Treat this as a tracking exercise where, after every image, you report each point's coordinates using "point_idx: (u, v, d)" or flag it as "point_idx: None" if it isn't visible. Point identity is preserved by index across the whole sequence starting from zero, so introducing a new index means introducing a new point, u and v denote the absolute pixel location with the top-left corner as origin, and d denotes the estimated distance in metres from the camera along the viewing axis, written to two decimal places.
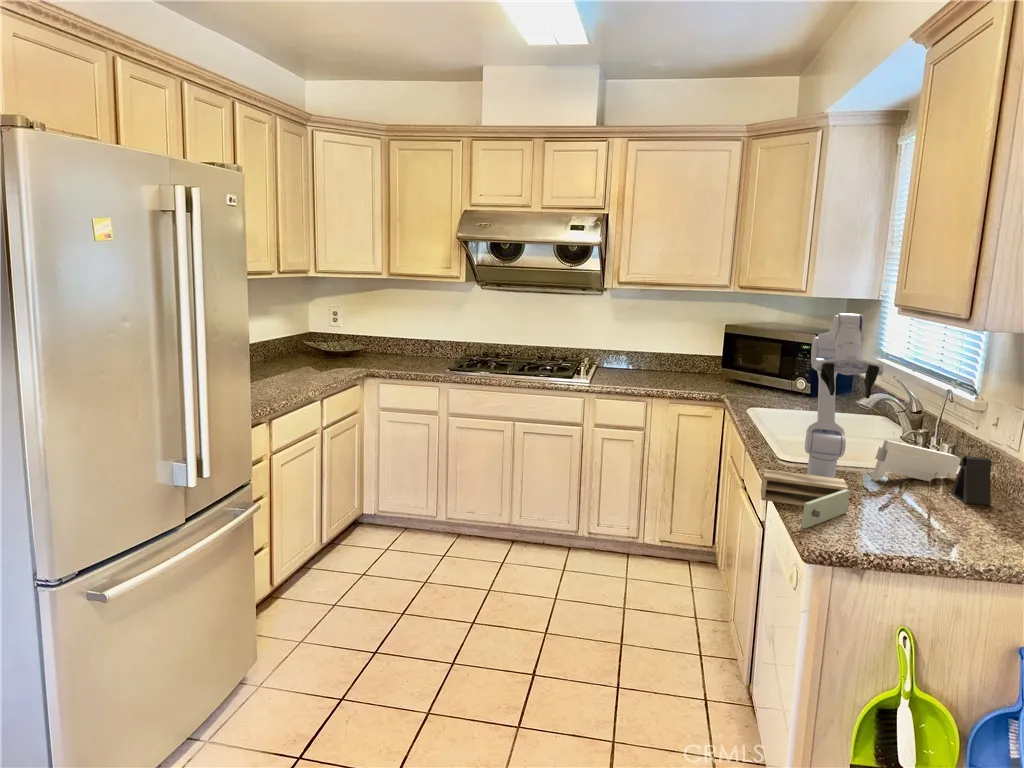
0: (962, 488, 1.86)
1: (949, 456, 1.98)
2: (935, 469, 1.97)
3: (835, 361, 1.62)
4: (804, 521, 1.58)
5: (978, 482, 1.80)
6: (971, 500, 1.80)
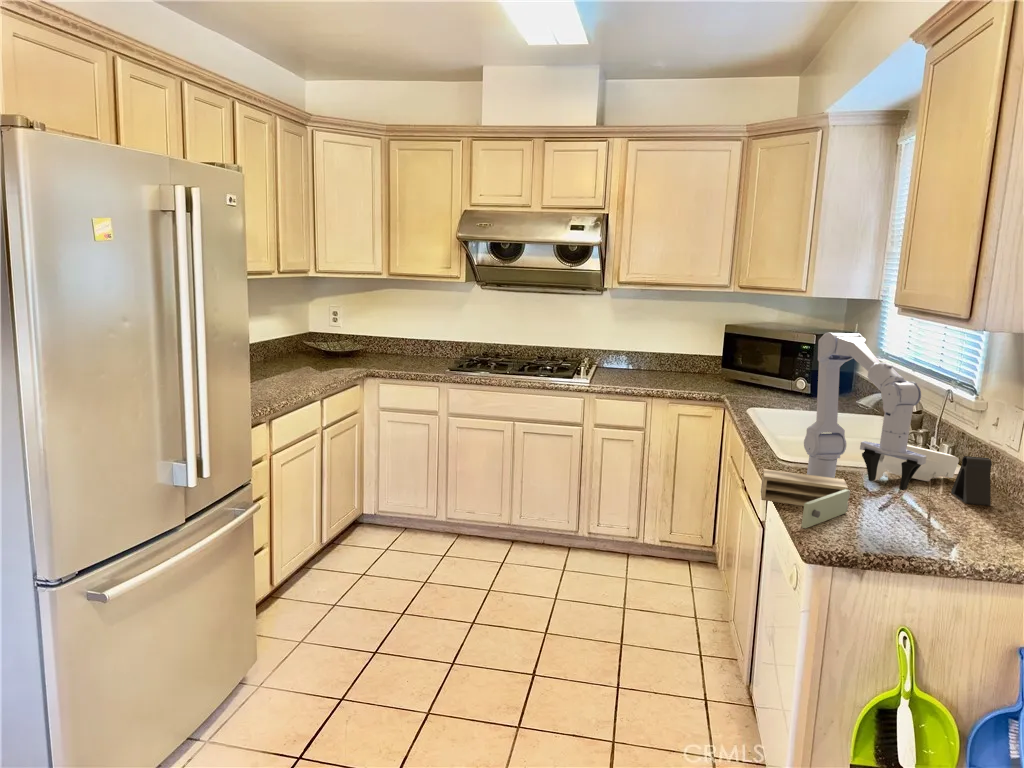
0: (962, 488, 1.86)
1: (947, 456, 1.98)
2: (933, 469, 1.97)
3: (874, 449, 1.63)
4: (804, 521, 1.58)
5: (978, 482, 1.80)
6: (971, 500, 1.80)
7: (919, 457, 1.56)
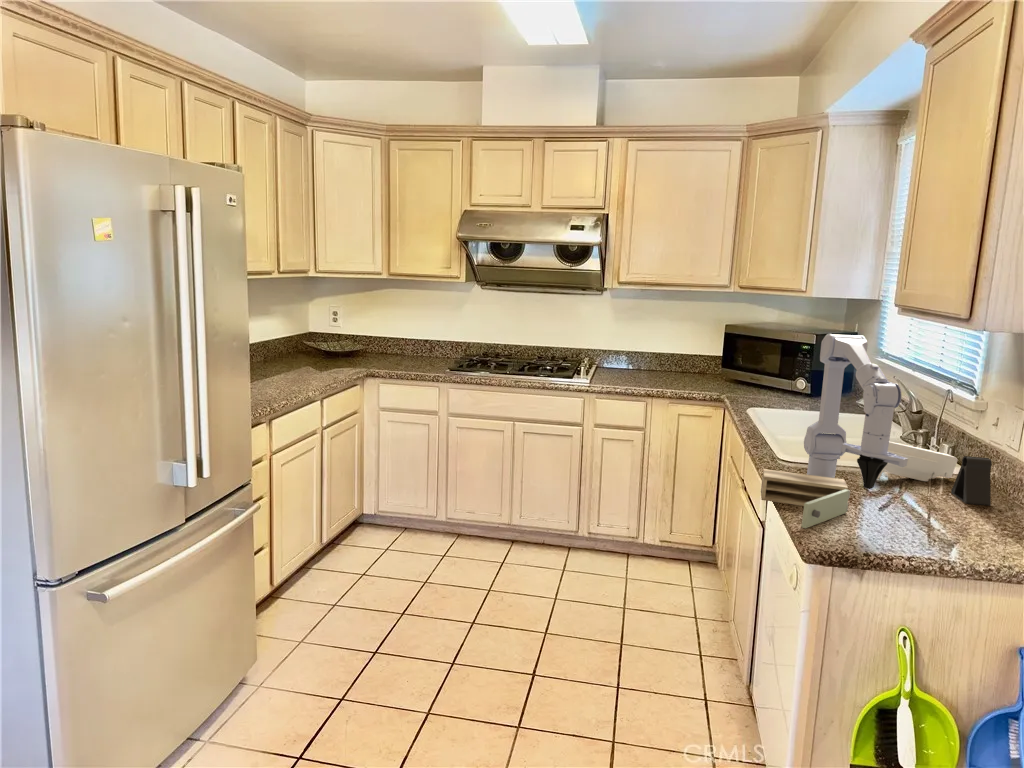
0: (962, 488, 1.86)
1: (946, 456, 1.98)
2: (932, 469, 1.96)
3: (855, 451, 1.60)
4: (804, 521, 1.58)
5: (978, 482, 1.80)
6: (971, 500, 1.80)
7: (900, 459, 1.53)
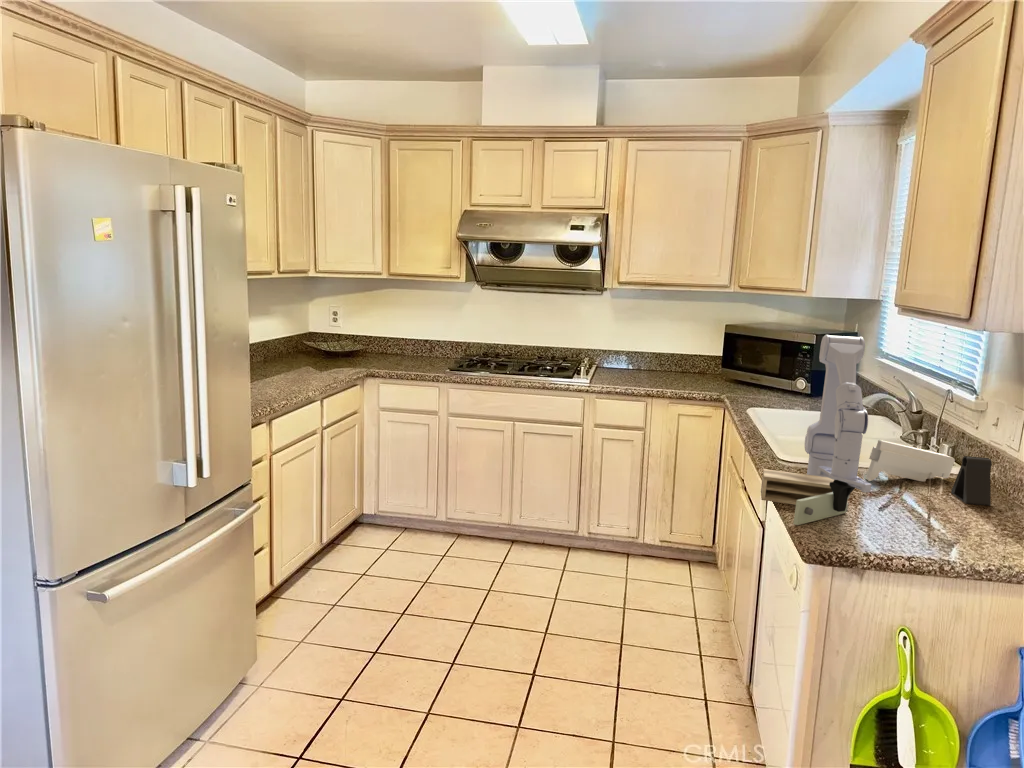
0: (962, 488, 1.86)
1: (943, 456, 1.97)
2: (929, 469, 1.96)
3: None
4: (796, 518, 1.59)
5: (978, 482, 1.80)
6: (971, 500, 1.80)
7: (862, 485, 1.57)
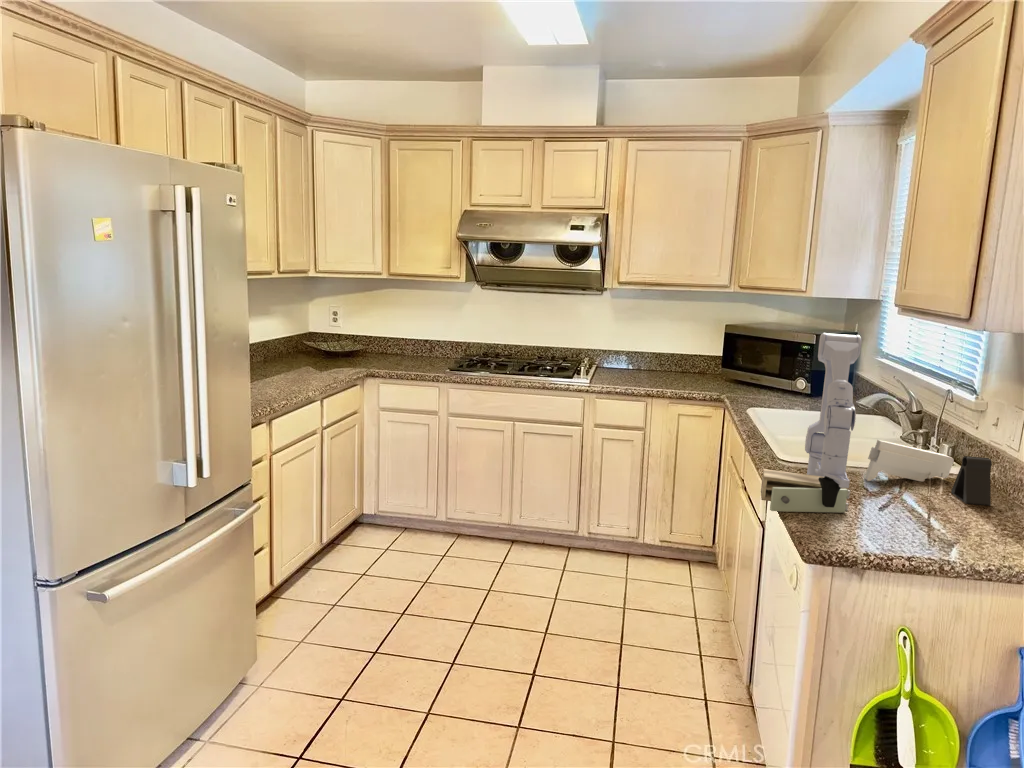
0: (962, 488, 1.86)
1: (942, 456, 1.97)
2: (928, 469, 1.96)
3: None
4: (771, 504, 1.68)
5: (978, 482, 1.80)
6: (971, 500, 1.80)
7: (839, 480, 1.59)
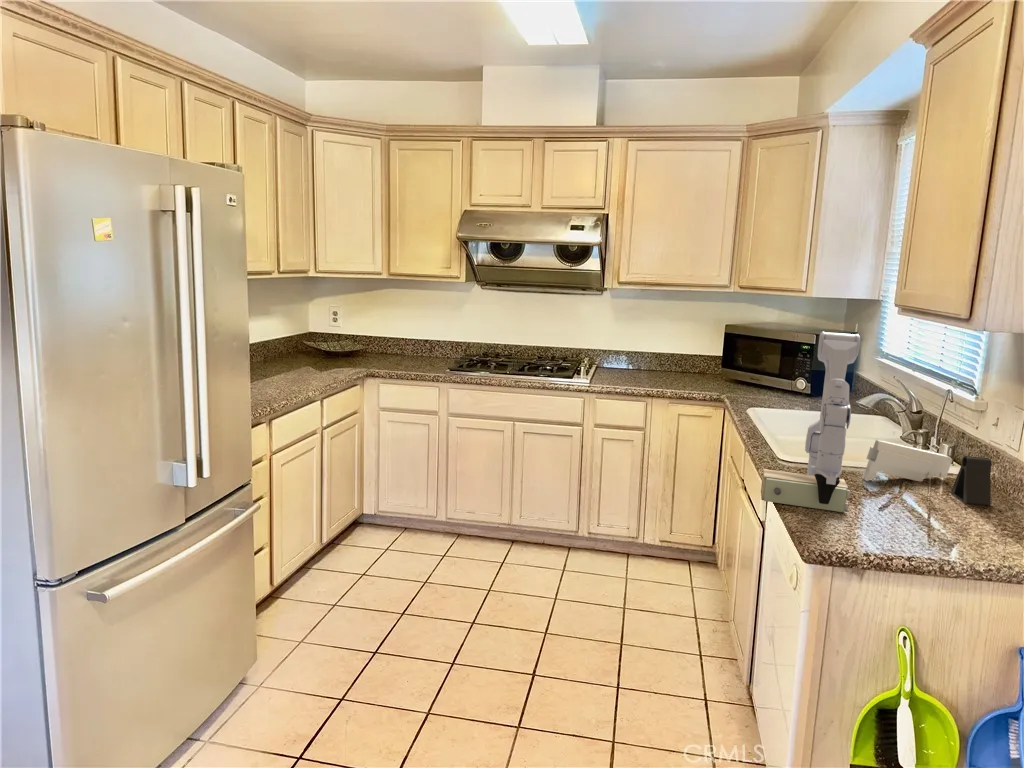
0: (962, 488, 1.86)
1: (940, 456, 1.97)
2: (926, 469, 1.96)
3: None
4: None
5: (978, 482, 1.80)
6: (971, 500, 1.80)
7: (826, 476, 1.62)
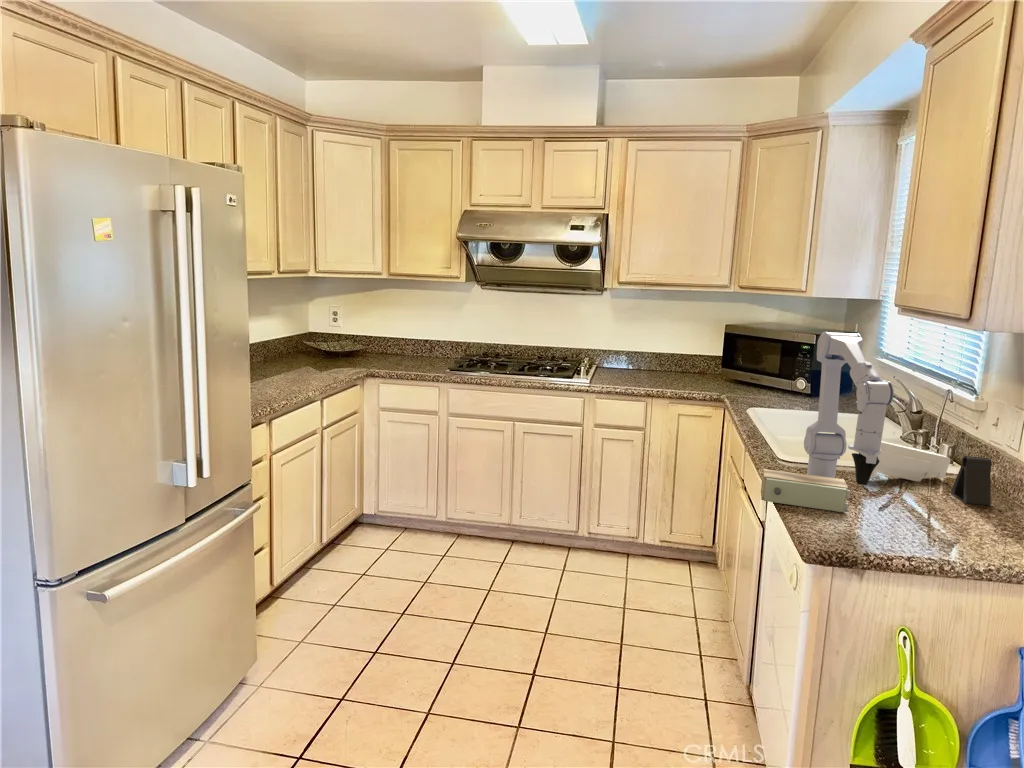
0: (962, 488, 1.86)
1: (939, 456, 1.97)
2: (925, 469, 1.96)
3: None
4: None
5: (978, 482, 1.80)
6: (971, 500, 1.80)
7: (866, 455, 1.56)
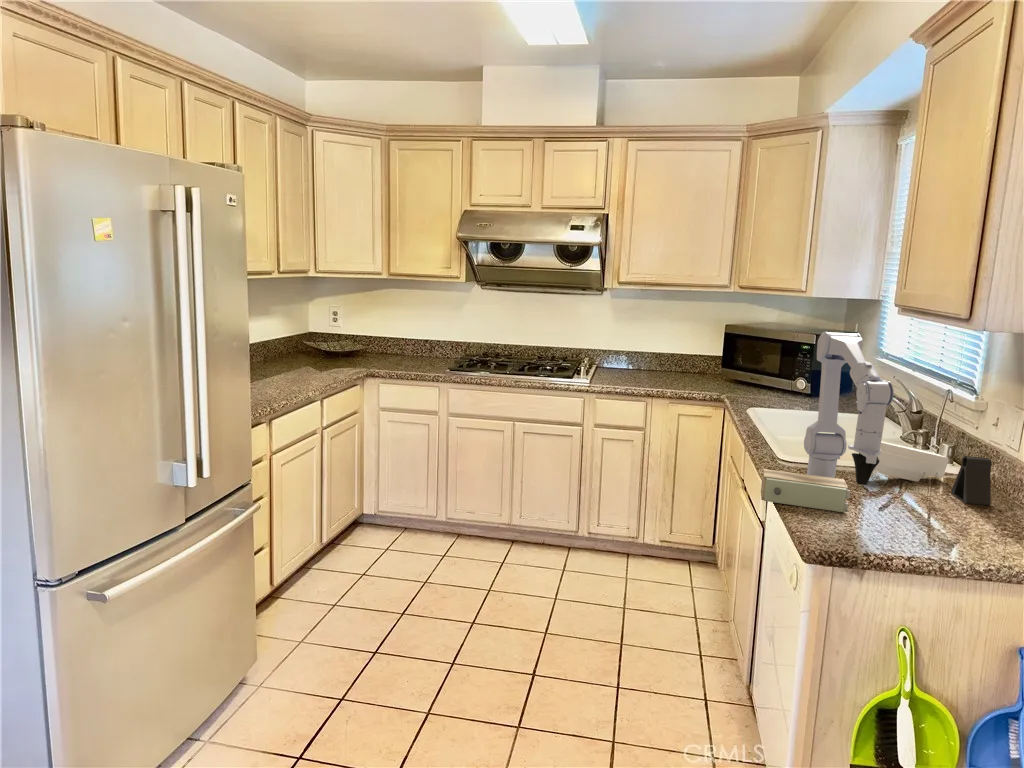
0: (962, 488, 1.86)
1: (937, 456, 1.97)
2: (923, 469, 1.96)
3: None
4: None
5: (978, 482, 1.80)
6: (971, 500, 1.80)
7: (866, 455, 1.56)
